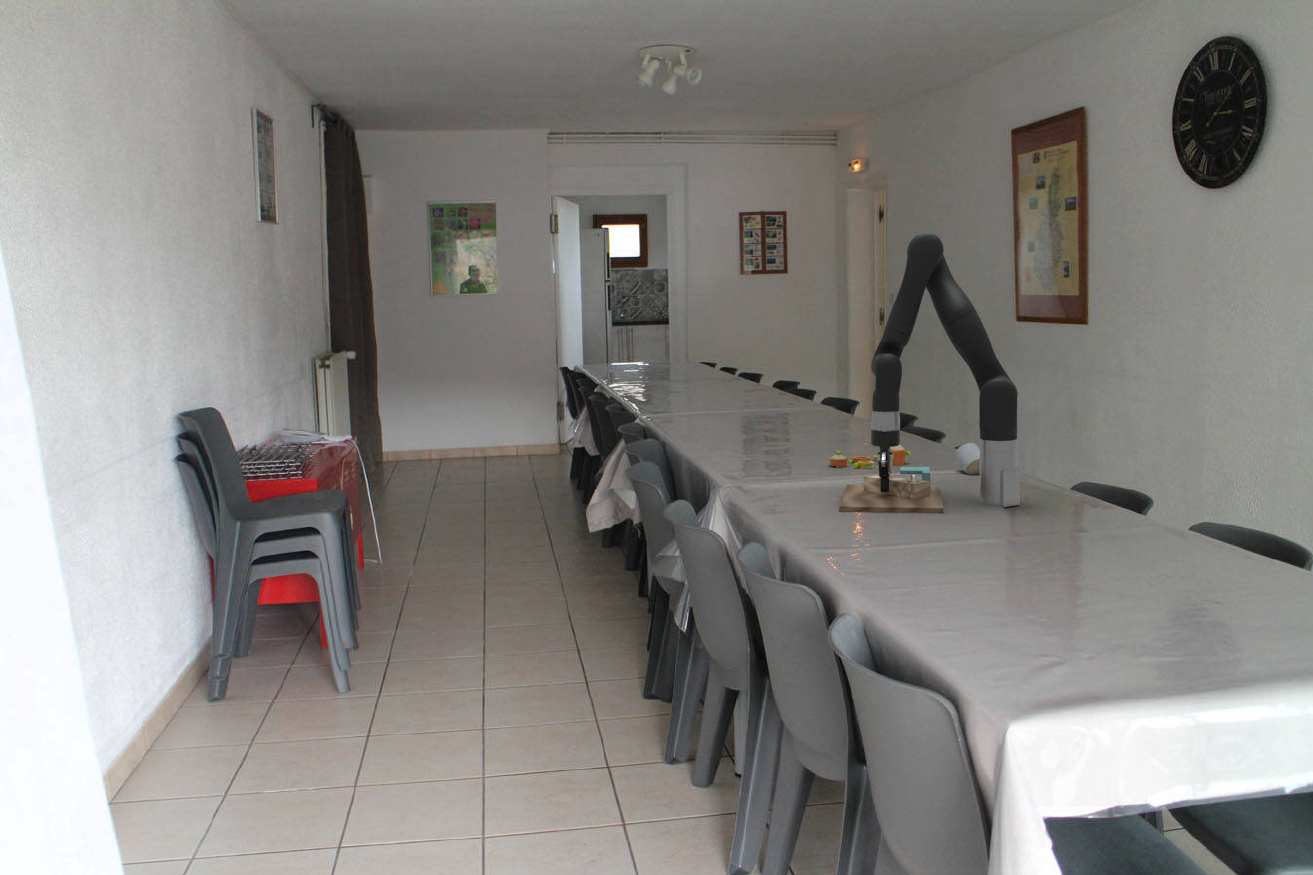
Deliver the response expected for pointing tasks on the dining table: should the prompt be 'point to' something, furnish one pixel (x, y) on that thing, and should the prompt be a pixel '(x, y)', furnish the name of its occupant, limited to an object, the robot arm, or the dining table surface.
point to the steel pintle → (913, 478)
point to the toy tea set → (865, 461)
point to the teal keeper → (917, 471)
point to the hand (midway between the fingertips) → (884, 492)
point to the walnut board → (889, 501)
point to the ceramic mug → (969, 458)
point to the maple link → (899, 487)
